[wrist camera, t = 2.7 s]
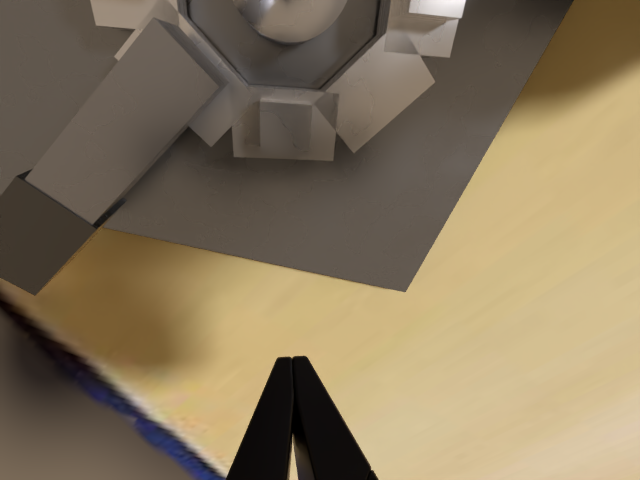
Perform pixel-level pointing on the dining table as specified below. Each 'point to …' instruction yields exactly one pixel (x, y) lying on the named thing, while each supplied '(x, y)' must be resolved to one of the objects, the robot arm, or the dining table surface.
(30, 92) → the cap plate
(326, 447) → the robot arm
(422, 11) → the grey ring frame
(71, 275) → the dining table surface
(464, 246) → the dining table surface
